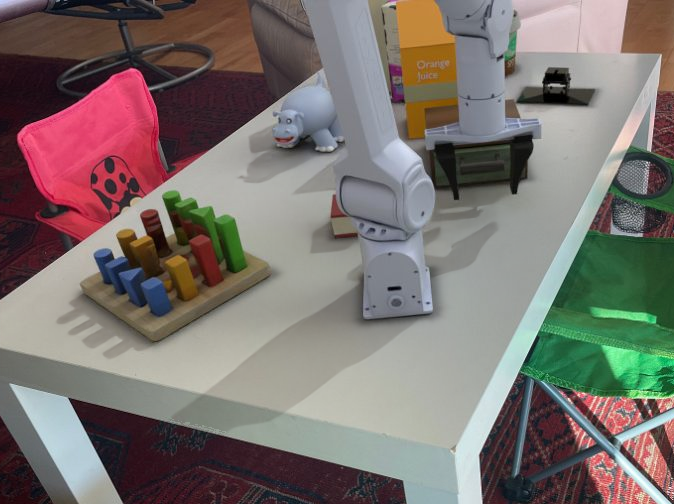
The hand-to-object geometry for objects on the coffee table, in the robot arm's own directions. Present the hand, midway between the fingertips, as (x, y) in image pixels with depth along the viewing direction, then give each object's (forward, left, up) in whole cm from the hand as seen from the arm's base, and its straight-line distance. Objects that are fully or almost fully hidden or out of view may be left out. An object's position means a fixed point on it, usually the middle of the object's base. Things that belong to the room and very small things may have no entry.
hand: (484, 194), depth 99 cm
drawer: (+13, 0, -2) cm, 13 cm away
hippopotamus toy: (+30, +26, -3) cm, 40 cm away
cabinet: (+17, 0, -3) cm, 17 cm away
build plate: (+40, -17, -3) cm, 43 cm away
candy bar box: (+46, +6, -3) cm, 46 cm away
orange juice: (+32, +5, -3) cm, 32 cm away
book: (+1, +18, -3) cm, 19 cm away
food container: (+56, -10, -3) cm, 57 cm away
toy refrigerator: (+54, +14, -3) cm, 56 cm away
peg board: (-10, +40, -3) cm, 42 cm away
